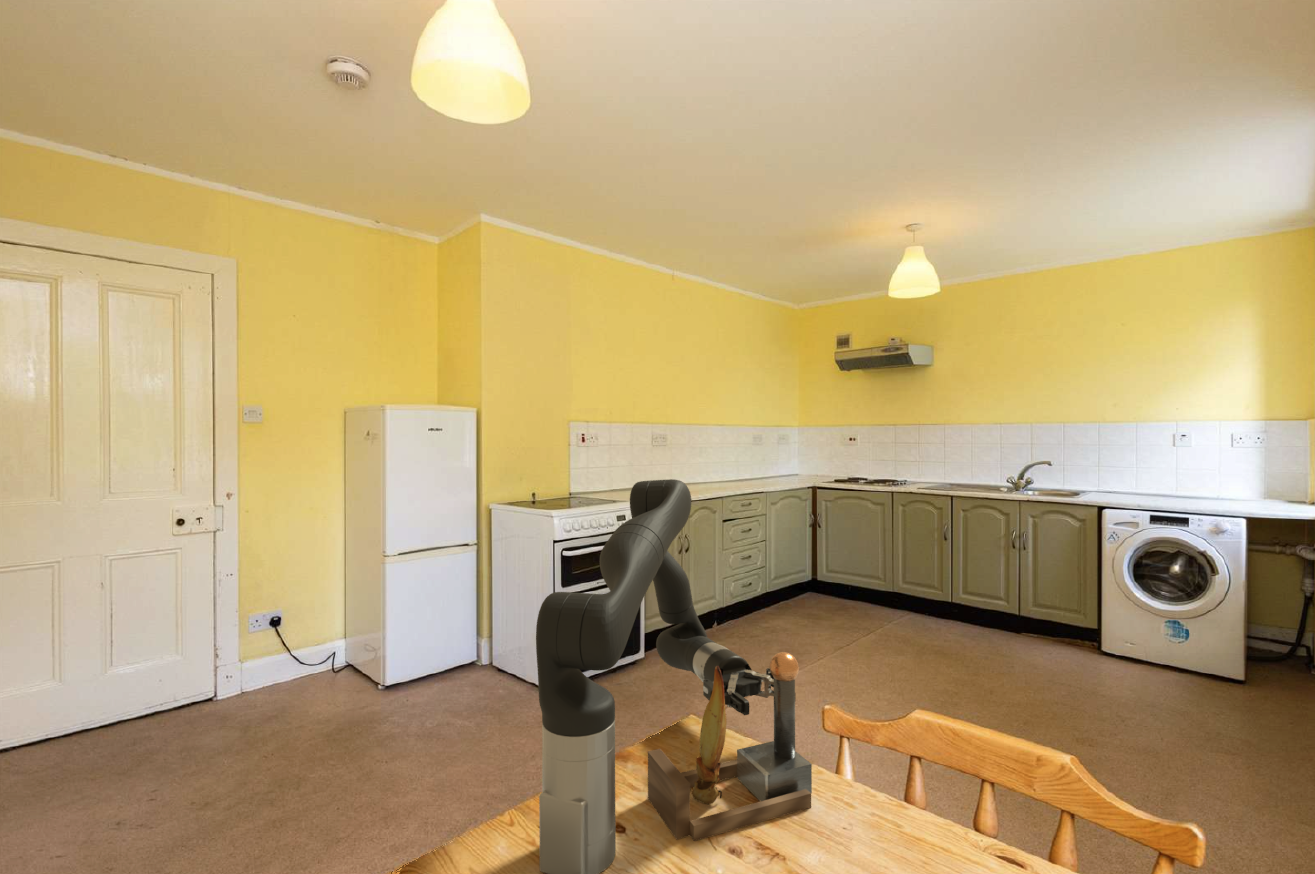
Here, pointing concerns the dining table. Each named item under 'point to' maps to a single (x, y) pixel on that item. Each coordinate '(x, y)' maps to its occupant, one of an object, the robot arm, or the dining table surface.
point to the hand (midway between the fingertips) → (770, 704)
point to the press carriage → (777, 742)
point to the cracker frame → (674, 809)
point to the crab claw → (711, 744)
